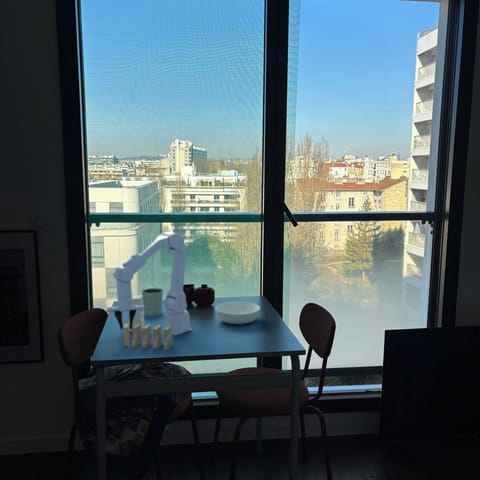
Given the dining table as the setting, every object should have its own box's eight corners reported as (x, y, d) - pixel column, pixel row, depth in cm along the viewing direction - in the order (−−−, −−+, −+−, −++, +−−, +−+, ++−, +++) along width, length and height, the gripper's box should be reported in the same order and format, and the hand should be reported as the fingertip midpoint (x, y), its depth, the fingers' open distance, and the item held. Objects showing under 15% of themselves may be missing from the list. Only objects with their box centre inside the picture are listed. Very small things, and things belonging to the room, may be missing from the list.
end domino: (129, 341, 192) (128, 323, 191) (128, 346, 187) (127, 327, 186) (125, 342, 191) (124, 323, 190) (124, 346, 187) (123, 327, 186)
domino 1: (141, 342, 190) (140, 324, 189) (136, 347, 186) (135, 328, 185) (138, 342, 191) (137, 323, 190) (132, 347, 186) (131, 327, 185)
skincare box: (141, 331, 204) (140, 298, 202) (128, 332, 204) (126, 299, 202) (144, 325, 213) (143, 294, 211) (131, 326, 212) (130, 294, 210)
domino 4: (172, 344, 187) (171, 325, 186) (168, 349, 183) (167, 329, 182) (168, 344, 188) (168, 325, 187) (164, 349, 183) (163, 329, 182)
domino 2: (151, 343, 189) (151, 324, 188) (146, 347, 185) (146, 328, 184) (148, 343, 190) (147, 324, 189) (143, 347, 185) (142, 328, 184)
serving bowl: (219, 330, 204) (219, 315, 203) (212, 316, 224) (212, 303, 224) (265, 326, 208) (265, 311, 207) (254, 313, 229) (254, 300, 228)
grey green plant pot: (139, 314, 231) (138, 290, 229) (156, 309, 238) (155, 287, 236) (150, 318, 224) (149, 294, 222) (167, 313, 231) (166, 290, 229)
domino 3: (162, 344, 188) (161, 325, 187) (157, 348, 184) (156, 329, 183) (158, 344, 189) (157, 325, 188) (153, 348, 184) (152, 329, 183)
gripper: (143, 292, 191) (145, 324, 193) (107, 294, 189) (109, 326, 191) (142, 296, 185) (144, 329, 186) (105, 299, 182) (107, 332, 184)
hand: (126, 328), depth 188 cm, fingers open, 3 cm apart
